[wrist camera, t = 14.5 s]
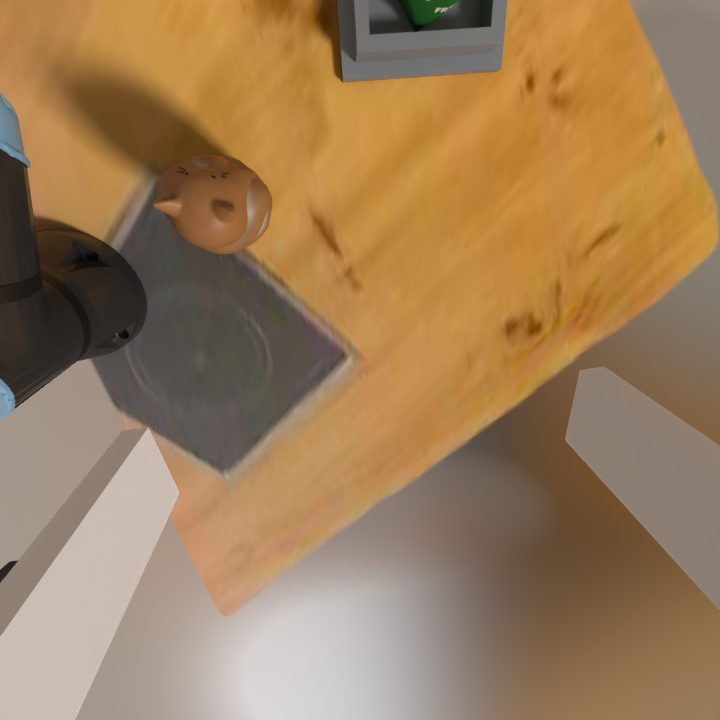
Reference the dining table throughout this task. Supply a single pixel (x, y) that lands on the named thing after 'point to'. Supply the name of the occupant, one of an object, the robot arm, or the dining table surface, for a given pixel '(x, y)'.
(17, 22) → the dining table surface
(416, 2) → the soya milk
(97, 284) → the robot arm
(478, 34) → the dock
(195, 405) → the dining table surface
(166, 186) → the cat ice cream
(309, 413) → the dining table surface
